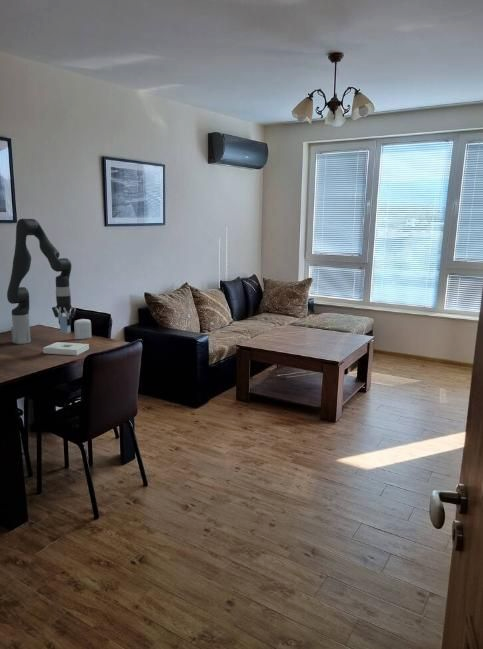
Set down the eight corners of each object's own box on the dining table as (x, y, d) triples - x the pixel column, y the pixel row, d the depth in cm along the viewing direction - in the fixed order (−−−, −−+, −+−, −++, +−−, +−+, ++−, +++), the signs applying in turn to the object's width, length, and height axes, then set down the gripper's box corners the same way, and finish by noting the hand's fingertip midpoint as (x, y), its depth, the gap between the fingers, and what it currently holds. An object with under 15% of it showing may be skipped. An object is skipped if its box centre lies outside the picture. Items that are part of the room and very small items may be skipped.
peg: (60, 333, 266) (59, 317, 264) (64, 331, 270) (63, 315, 268) (67, 333, 266) (66, 317, 264) (70, 331, 269) (69, 316, 268)
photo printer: (90, 336, 306) (89, 317, 303) (92, 338, 302) (91, 319, 300) (73, 338, 300) (72, 319, 297) (75, 340, 296) (74, 320, 294)
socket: (43, 353, 265) (43, 347, 264) (56, 347, 278) (56, 342, 278) (76, 355, 262) (76, 349, 261) (89, 349, 275) (88, 344, 275)
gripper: (47, 295, 261) (49, 326, 265) (71, 296, 259) (73, 327, 262) (55, 293, 268) (57, 323, 272) (78, 294, 266) (80, 324, 270)
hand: (65, 325), depth 267 cm, fingers closed on peg, 4 cm apart
